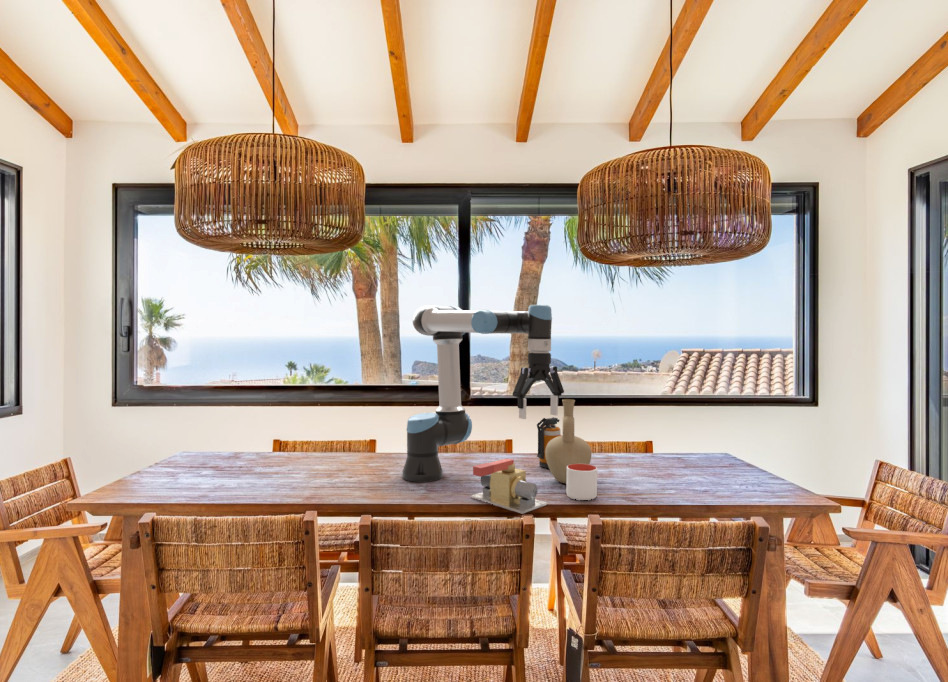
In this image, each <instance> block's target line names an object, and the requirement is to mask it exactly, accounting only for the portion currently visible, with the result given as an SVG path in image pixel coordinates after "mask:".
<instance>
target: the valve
mask: <svg viewBox="0 0 948 682" xmlns="http://www.w3.org/2000/svg"><path fill="white" fill-rule="evenodd" d="M526 477H527V470H525V469H521V468H516V467H515V471H513V472H505V471H502V470H501V471H498V472H494V473H492V474H489V475H485V476H481V477H480V484H481V485H482V486H483V487H482V492H478V493H475V494H472V495H470V498H471V497H473V498H476V499H480V500H483V501H486V502H489V503H491V504H490V505H492V504H493V506H495V507H499V508H503V509H504V510H505V509H506V510H508V511H511V512H515V513H518V514H520V515H521V514H522V515H523V514H526V513H529V512H531V511H534V510H537V509H540V508H543V507H545V506H547V504H548V503H547V502H546V501H543V500H539V499H536V497H537V494H538V486H537V484H536V483H532V482H529V481H527V479H526ZM473 498H472V499H473ZM476 499H475V500H476ZM483 501H482V502H483ZM486 502H485V503H486ZM489 503H488V504H489Z"/></svg>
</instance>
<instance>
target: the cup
mask: <svg viewBox="0 0 948 682" xmlns="http://www.w3.org/2000/svg"><path fill="white" fill-rule="evenodd" d="M565 484H566V487H565V488H566V491H565V492H566V496H567V497H568V498H569V499H572V500H575V499H576V500H575V501H580V500H588V501H592V500H595V499H596V497H597V495H598V467H597V466H595V465H592V464H570V465H568V466H567V480H566V483H565ZM591 499H592V500H591Z"/></svg>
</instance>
